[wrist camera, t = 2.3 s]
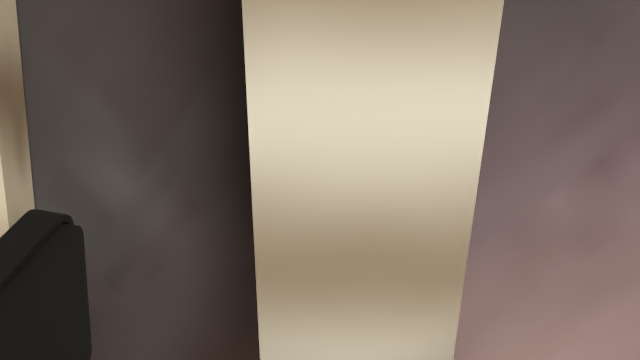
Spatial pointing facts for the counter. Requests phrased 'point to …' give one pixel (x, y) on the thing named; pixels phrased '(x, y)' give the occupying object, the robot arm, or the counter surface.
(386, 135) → the birch bar
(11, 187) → the ridge stand
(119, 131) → the counter surface
